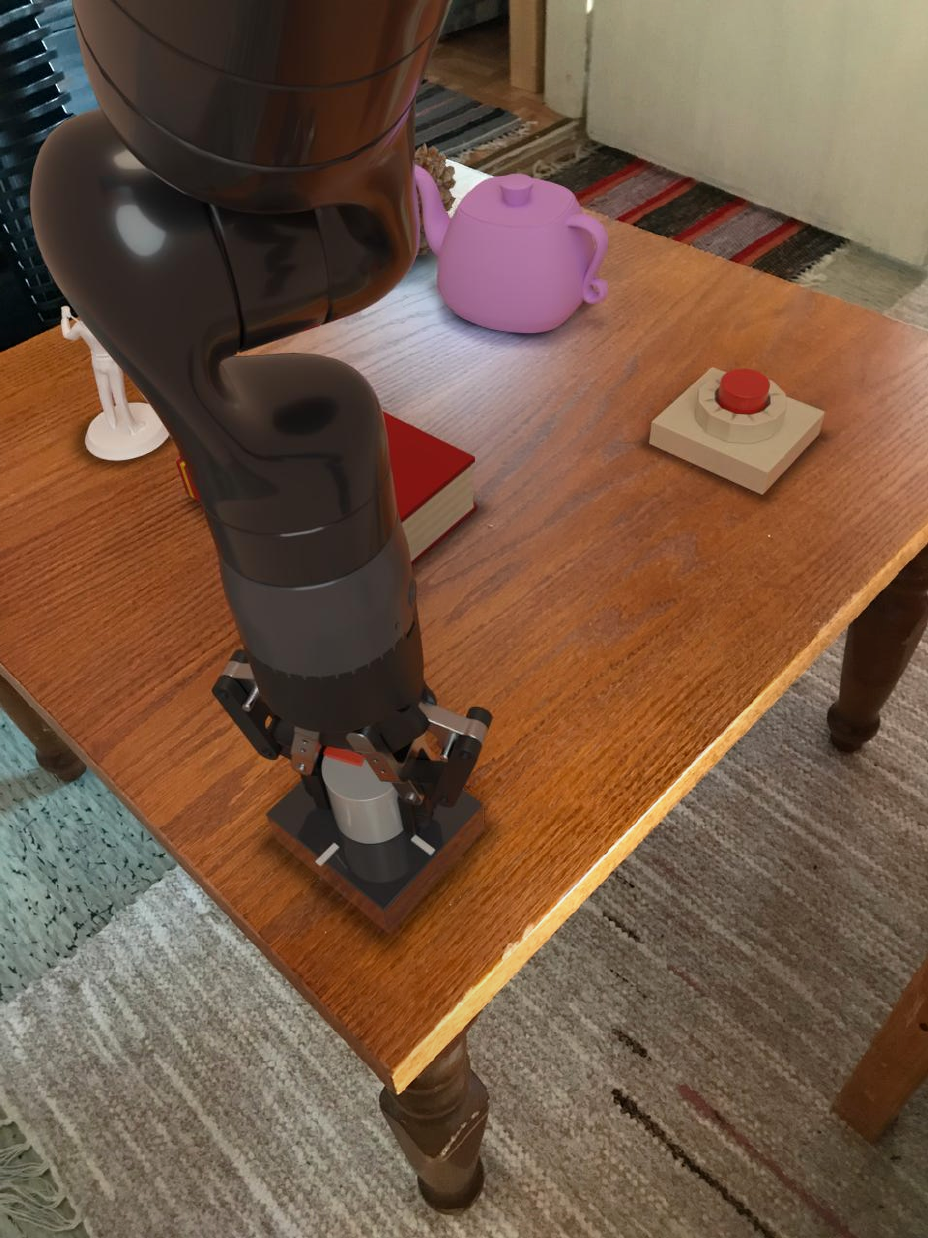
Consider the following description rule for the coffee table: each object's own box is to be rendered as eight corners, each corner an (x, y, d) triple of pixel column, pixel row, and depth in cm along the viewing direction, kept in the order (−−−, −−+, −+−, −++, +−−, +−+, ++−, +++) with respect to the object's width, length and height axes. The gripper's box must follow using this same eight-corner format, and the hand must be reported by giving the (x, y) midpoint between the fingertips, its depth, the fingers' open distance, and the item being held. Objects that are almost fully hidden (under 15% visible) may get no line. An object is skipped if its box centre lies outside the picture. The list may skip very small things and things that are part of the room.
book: (189, 502, 76) (172, 452, 72) (307, 419, 82) (297, 368, 78) (361, 610, 67) (351, 559, 64) (477, 508, 74) (475, 456, 70)
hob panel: (488, 826, 56) (487, 798, 54) (386, 940, 52) (379, 914, 50) (374, 744, 60) (368, 714, 58) (271, 843, 56) (260, 816, 54)
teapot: (631, 288, 93) (643, 162, 84) (577, 364, 85) (584, 235, 76) (443, 247, 99) (436, 127, 90) (378, 315, 92) (362, 190, 83)
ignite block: (819, 434, 78) (831, 392, 75) (762, 495, 73) (772, 453, 70) (708, 388, 82) (715, 347, 79) (648, 443, 78) (653, 402, 75)
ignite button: (774, 398, 75) (779, 379, 74) (750, 422, 73) (755, 402, 72) (732, 381, 77) (736, 362, 75) (708, 404, 75) (711, 385, 74)
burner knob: (426, 786, 55) (419, 737, 51) (395, 854, 52) (385, 808, 48) (354, 764, 56) (342, 715, 52) (320, 830, 53) (305, 783, 49)
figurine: (188, 417, 83) (147, 287, 74) (136, 469, 78) (86, 338, 69) (120, 398, 85) (72, 270, 76) (66, 447, 81) (8, 318, 72)
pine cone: (397, 213, 104) (388, 116, 97) (478, 231, 101) (474, 131, 94) (278, 319, 92) (256, 216, 84) (365, 343, 89) (351, 238, 81)
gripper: (128, 630, 40) (226, 832, 53) (459, 710, 37) (477, 905, 50) (213, 508, 45) (285, 722, 58) (515, 569, 41) (519, 782, 54)
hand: (374, 806), depth 54 cm, fingers closed on burner knob, 4 cm apart
